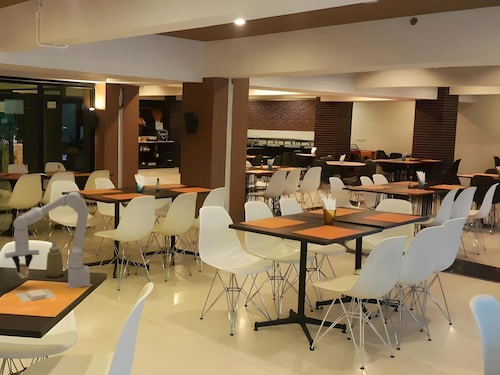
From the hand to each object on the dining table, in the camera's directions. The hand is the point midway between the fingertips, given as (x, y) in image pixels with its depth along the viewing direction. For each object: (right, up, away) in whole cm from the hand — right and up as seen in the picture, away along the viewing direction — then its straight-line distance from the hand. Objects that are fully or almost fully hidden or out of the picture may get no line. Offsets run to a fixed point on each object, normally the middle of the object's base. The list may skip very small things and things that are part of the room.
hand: (22, 271), depth 256 cm
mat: (+10, -9, -10) cm, 17 cm away
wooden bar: (0, -2, 0) cm, 2 cm away
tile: (+9, -8, -9) cm, 15 cm away
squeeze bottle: (+7, -6, +22) cm, 24 cm away
